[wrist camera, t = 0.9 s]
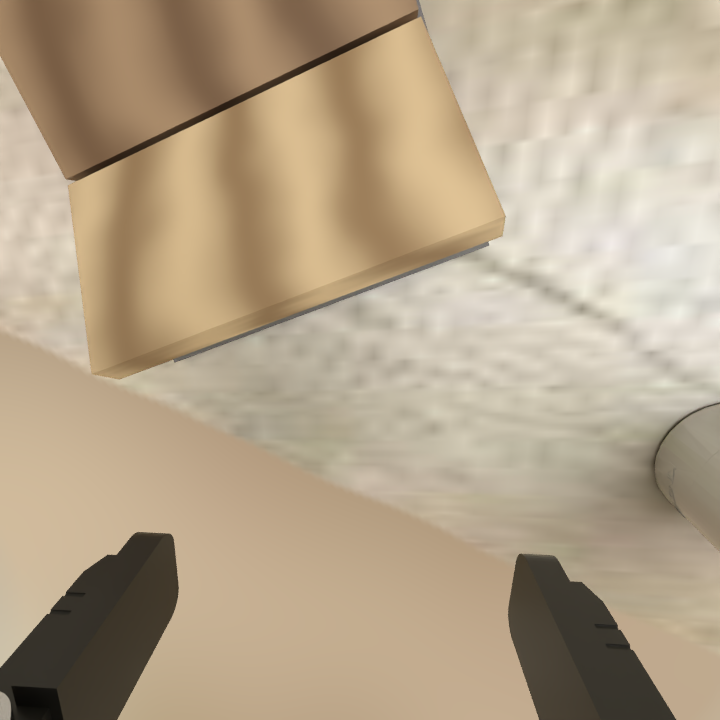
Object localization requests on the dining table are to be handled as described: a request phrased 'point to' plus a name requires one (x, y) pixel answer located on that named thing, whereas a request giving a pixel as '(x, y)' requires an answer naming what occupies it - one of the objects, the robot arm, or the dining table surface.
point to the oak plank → (280, 205)
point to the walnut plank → (166, 62)
